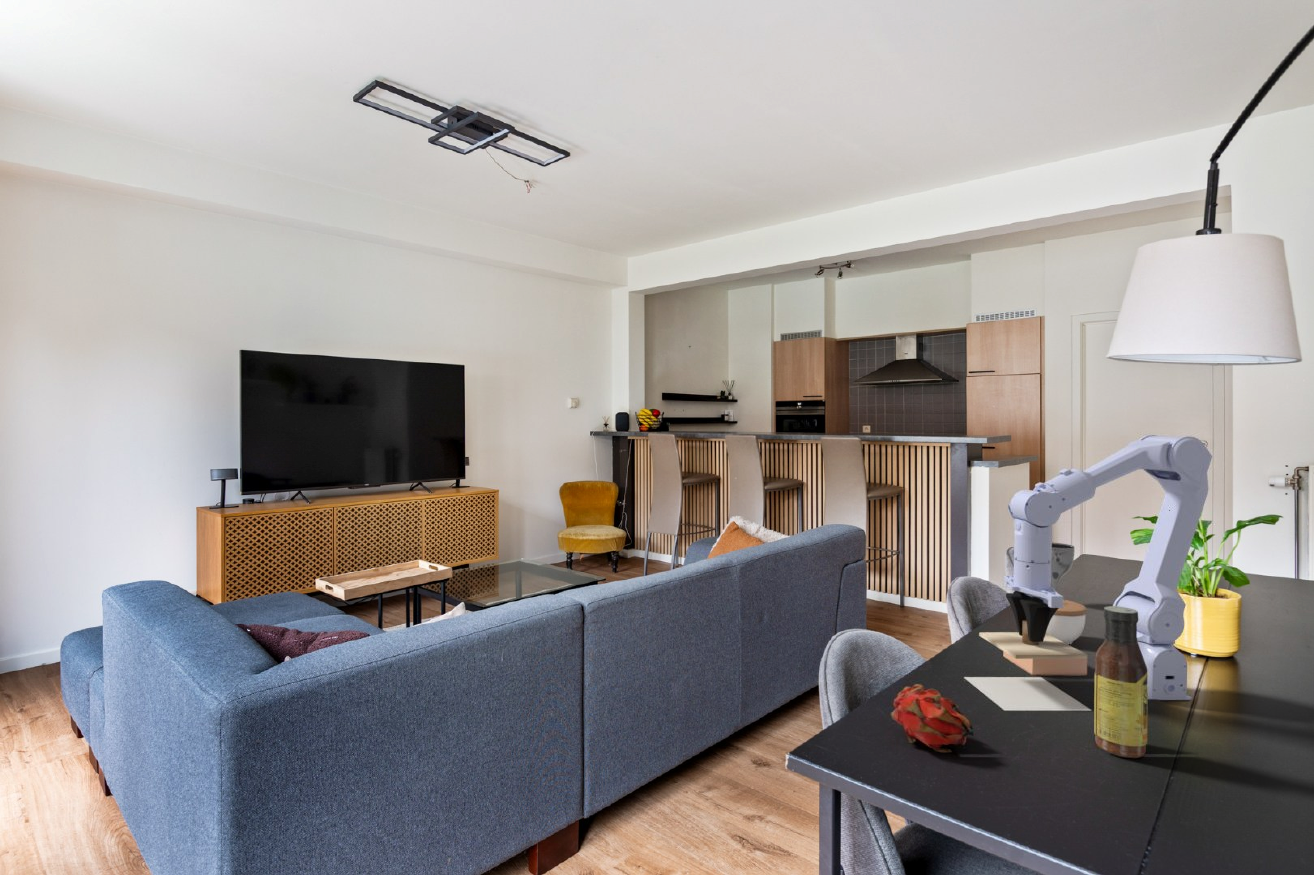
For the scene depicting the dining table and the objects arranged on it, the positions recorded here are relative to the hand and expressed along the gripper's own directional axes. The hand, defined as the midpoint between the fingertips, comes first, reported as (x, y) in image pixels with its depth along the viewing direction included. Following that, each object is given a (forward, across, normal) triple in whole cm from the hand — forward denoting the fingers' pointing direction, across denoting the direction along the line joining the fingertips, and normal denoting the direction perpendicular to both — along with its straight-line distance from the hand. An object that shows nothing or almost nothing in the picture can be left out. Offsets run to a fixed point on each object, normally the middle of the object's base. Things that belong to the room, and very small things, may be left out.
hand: (1030, 638), depth 119 cm
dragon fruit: (+9, +20, -26) cm, 34 cm away
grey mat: (+9, +3, -3) cm, 10 cm away
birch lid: (+1, 0, 0) cm, 1 cm away
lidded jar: (+9, -26, +20) cm, 34 cm away
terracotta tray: (+9, -10, +8) cm, 16 cm away
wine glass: (+9, -54, +38) cm, 67 cm away
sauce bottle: (+9, +22, 0) cm, 24 cm away
